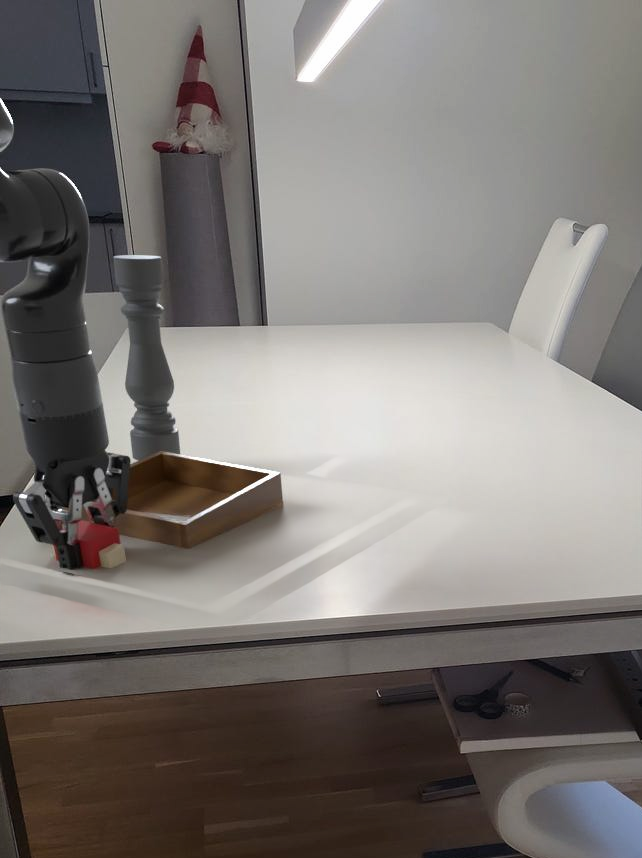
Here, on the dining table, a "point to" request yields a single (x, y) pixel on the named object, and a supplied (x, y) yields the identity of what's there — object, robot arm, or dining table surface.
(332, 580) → the dining table surface
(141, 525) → the wooden tray
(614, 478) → the dining table surface
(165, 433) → the candle holder
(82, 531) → the red and beige block
